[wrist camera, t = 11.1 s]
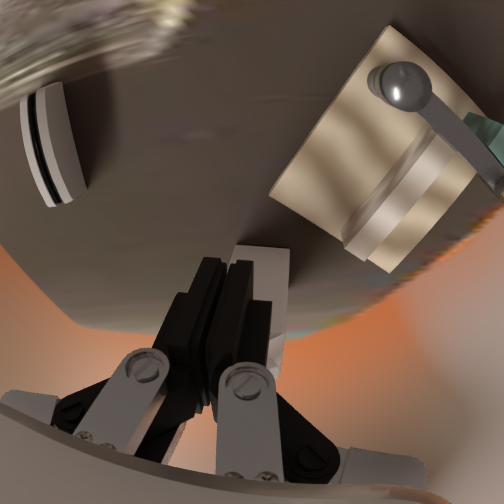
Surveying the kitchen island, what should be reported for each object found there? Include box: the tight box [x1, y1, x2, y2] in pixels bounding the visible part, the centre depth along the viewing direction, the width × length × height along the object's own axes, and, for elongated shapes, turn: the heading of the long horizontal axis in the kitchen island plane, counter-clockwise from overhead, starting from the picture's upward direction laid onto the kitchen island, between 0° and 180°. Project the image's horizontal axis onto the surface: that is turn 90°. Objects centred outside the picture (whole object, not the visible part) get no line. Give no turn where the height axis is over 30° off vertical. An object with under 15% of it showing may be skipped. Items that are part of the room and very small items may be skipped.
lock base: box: [269, 25, 504, 273], centre depth 29 cm, size 24×19×9 cm
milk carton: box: [227, 245, 290, 380], centre depth 36 cm, size 7×7×19 cm
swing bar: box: [375, 61, 504, 203], centre depth 22 cm, size 18×4×6 cm, turn 60°
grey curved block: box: [20, 82, 87, 207], centre depth 33 cm, size 17×5×10 cm, turn 7°
